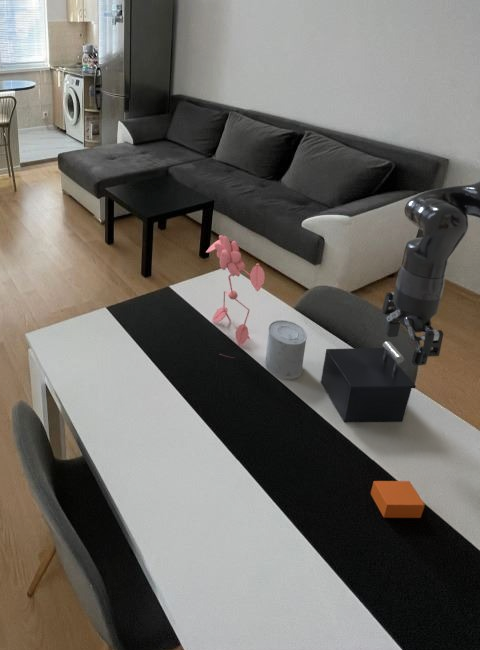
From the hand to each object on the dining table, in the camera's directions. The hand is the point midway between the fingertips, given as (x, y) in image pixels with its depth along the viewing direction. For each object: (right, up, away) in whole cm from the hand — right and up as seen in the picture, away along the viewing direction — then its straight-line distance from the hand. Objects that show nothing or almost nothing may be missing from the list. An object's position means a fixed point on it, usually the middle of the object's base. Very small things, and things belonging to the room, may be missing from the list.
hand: (404, 349), depth 93 cm
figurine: (-26, -12, +41) cm, 51 cm away
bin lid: (0, -10, +12) cm, 15 cm away
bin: (+1, -20, +16) cm, 25 cm away
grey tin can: (-13, -16, +28) cm, 35 cm away
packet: (-7, -29, -7) cm, 31 cm away
